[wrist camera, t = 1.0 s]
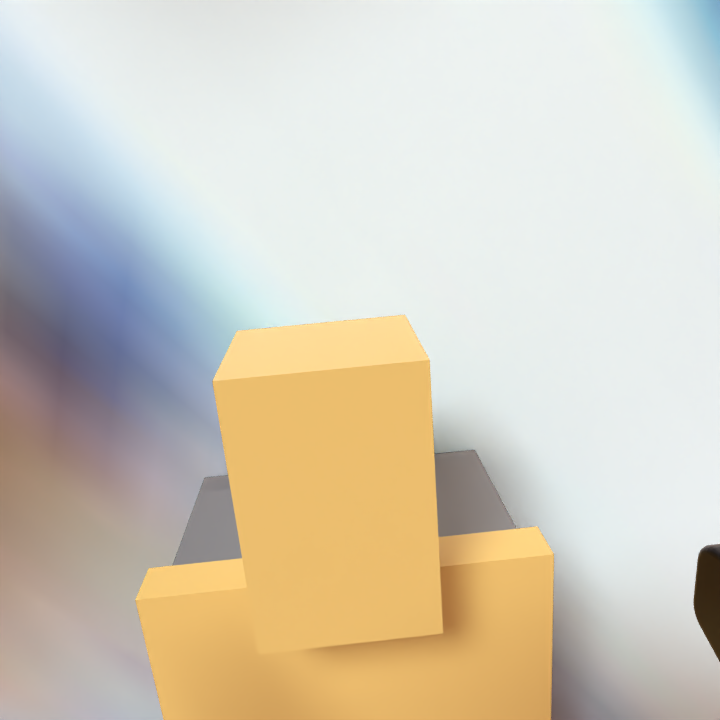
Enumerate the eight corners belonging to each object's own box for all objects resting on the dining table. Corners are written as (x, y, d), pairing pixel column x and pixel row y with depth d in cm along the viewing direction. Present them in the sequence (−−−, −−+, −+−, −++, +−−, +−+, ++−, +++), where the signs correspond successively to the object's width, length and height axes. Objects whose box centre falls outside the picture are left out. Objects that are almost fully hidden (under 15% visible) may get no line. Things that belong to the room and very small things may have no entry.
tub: (481, 709, 21) (527, 865, 17) (251, 736, 21) (231, 902, 16) (474, 449, 18) (528, 551, 14) (204, 477, 18) (163, 590, 13)
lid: (534, 869, 17) (575, 1002, 14) (224, 908, 17) (206, 1051, 14) (539, 301, 12) (602, 343, 9) (97, 344, 12) (32, 398, 9)
